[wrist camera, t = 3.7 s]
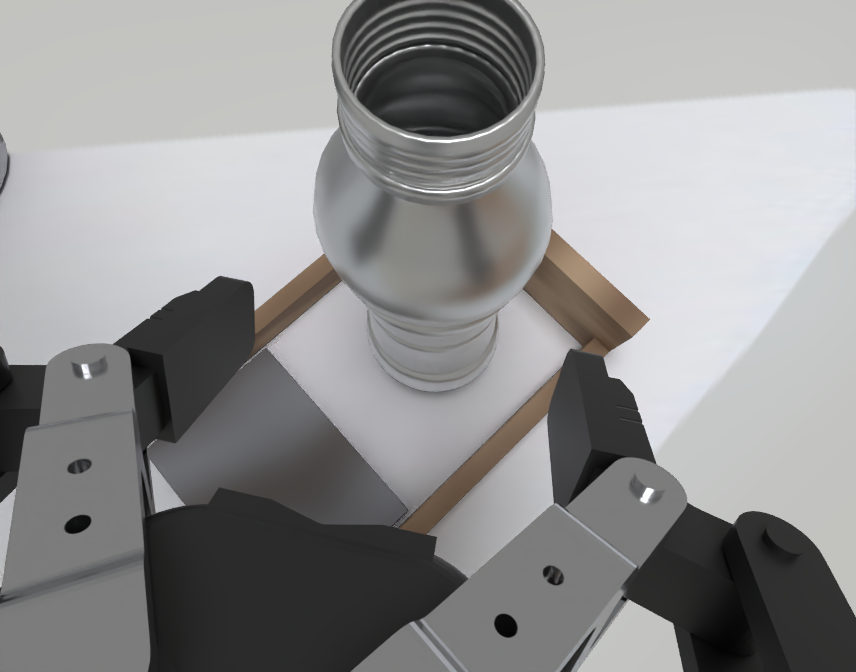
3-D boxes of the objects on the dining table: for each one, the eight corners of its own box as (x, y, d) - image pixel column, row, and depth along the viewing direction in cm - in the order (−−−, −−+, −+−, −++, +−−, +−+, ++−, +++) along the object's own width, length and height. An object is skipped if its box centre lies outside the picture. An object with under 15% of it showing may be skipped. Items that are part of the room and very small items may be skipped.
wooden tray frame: (133, 433, 27) (67, 426, 22) (436, 179, 30) (438, 124, 25) (303, 651, 24) (271, 698, 19) (611, 344, 28) (650, 319, 23)
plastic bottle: (440, 424, 27) (472, 318, 7) (347, 343, 28) (160, 63, 8) (516, 334, 28) (715, 40, 9) (423, 260, 29) (413, -150, 10)
